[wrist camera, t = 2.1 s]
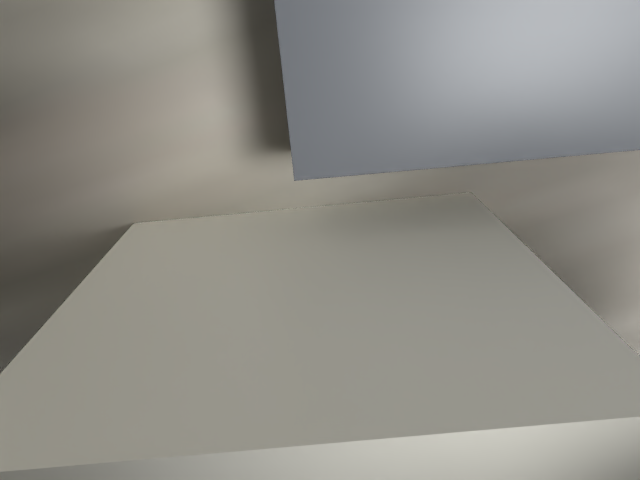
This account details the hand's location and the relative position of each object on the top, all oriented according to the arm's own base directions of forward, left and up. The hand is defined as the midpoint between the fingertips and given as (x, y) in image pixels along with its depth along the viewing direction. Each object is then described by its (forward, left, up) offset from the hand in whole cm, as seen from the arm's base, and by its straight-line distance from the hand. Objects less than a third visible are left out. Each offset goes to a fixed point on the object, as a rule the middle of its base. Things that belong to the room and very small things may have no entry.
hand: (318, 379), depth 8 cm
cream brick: (0, 0, -1) cm, 1 cm away
